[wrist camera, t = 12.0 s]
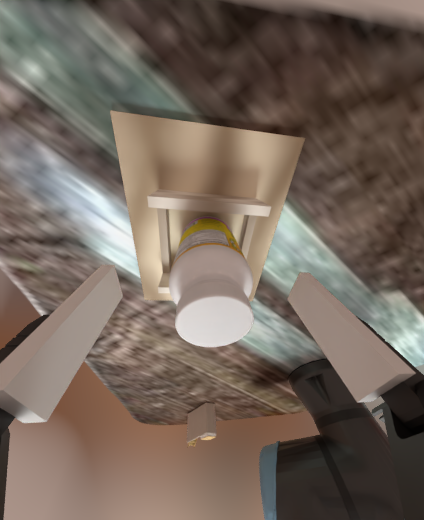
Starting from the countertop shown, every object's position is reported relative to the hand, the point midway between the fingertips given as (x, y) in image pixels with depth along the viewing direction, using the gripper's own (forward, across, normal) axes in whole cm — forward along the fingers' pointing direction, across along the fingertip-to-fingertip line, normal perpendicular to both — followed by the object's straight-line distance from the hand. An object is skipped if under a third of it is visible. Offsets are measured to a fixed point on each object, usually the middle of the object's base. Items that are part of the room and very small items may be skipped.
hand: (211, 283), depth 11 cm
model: (+10, -3, +60) cm, 61 cm away
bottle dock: (+9, 0, 0) cm, 9 cm away
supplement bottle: (+8, 0, 0) cm, 8 cm away
